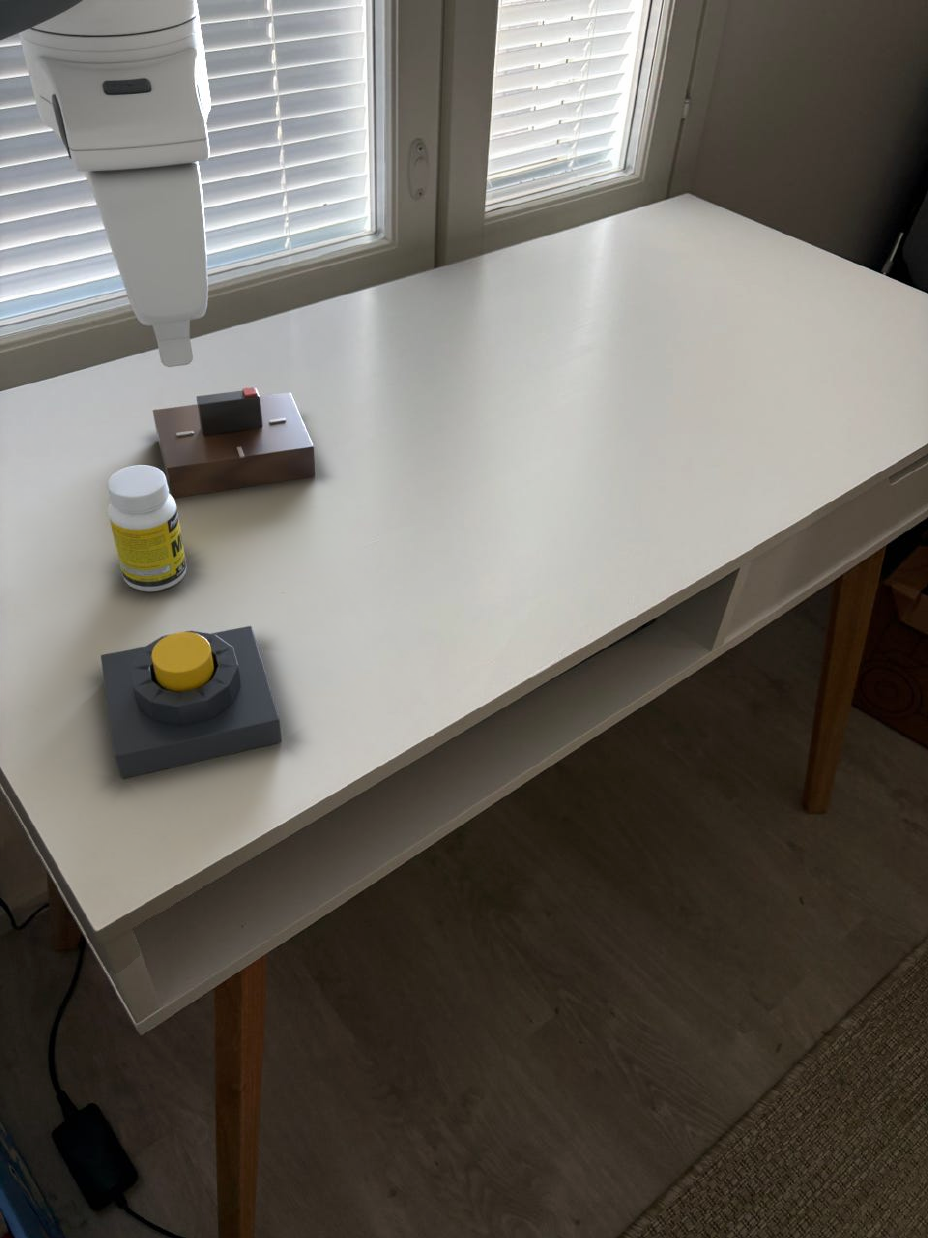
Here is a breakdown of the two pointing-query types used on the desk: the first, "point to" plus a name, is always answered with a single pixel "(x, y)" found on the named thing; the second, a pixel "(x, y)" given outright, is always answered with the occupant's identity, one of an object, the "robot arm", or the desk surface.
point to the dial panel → (234, 449)
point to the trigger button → (182, 661)
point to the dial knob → (230, 411)
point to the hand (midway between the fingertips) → (166, 322)
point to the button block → (189, 706)
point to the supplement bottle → (146, 528)
